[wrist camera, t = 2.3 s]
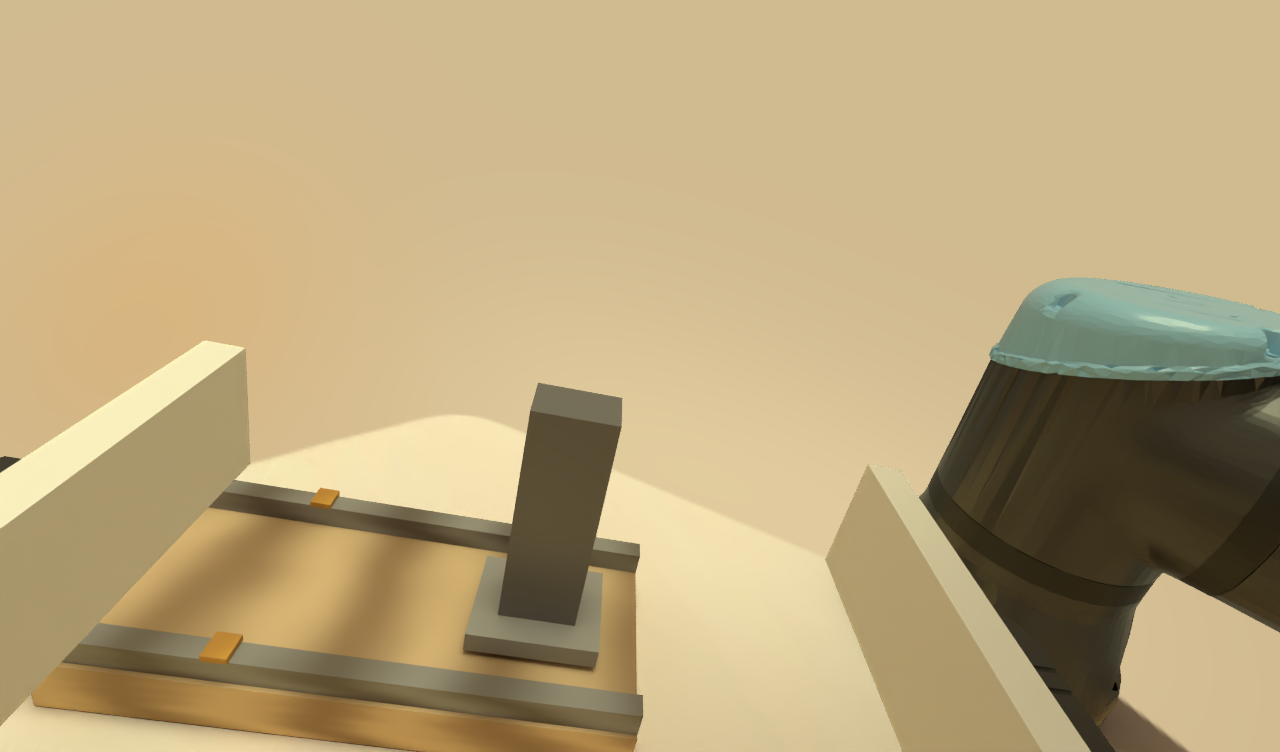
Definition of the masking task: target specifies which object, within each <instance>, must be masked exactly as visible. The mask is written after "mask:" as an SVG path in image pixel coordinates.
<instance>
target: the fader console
mask: <svg viewBox="0 0 1280 752" xmlns="http://www.w3.org/2000/svg"><path fill="white" fill-rule="evenodd" d="M511 528H512V524H508V523H502V522H496V521H489V520H483V519H477V518H470V517H464V516H458V515H451V514H445V513H439V512H433V511H426V510H420V509H414V508H407V507H401V506H395V505H388V504H382V503H376V502H369V501H363V500H357V499H350V498H344V497H339V491H336V490H330V489H324V488H320V489H319V490H318V492H317V493H313V492H306V491H300V490H294V489H287V488H281V487H275V486H268V485H262V484H256V483H249V482H243V481H237V480H234V481H233V482H232V483H231V484H230V485H229V486H228V487H227V488H226V489H225V490H224V491H223V492H222V493H221V494H220V496H219V497H218V498H217V499H216V500H215V501H214V502H213V503H212V504H211V505H210V506H209V507H208V508H207V509H206V510H205V511H204V512H203V513H202V514H201V516H200V517H199V518H198V519H197V520H196V521H195V522H194V523H193V524H192V525H191V526H190V527H189V528H188V529H187V530H186V531H185V532H184V533H183V534H182V536H181V537H180V538H179V539H178V540H177V541H176V542H175V543H174V544H173V545H172V546H171V547H170V548H169V549H168V550H167V551H166V552H165V553H164V554H163V556H162V557H161V558H160V559H159V560H158V561H157V562H156V563H155V564H154V565H153V566H152V567H151V568H150V569H149V570H148V571H147V572H146V573H145V574H144V576H143V577H142V578H141V579H140V580H139V581H138V582H137V583H136V584H135V585H134V586H133V587H132V588H131V589H130V590H129V591H128V592H127V593H126V594H125V595H124V597H123V598H122V599H121V600H120V601H119V602H118V603H117V604H116V605H115V606H114V607H113V608H112V609H111V610H110V611H109V612H108V613H107V614H106V615H105V617H104V618H103V619H102V620H101V621H100V622H99V623H98V624H97V625H96V626H95V627H94V628H93V629H92V630H91V631H90V632H89V633H88V634H87V635H86V637H85V638H84V639H83V640H82V641H81V642H80V643H79V644H78V645H77V646H76V647H75V648H74V649H73V650H72V651H71V652H70V653H69V654H68V655H67V657H66V658H65V659H64V660H63V661H62V662H61V663H60V664H59V665H58V666H57V667H56V668H55V669H54V670H53V671H52V672H51V673H50V674H49V675H48V676H47V678H46V679H45V680H44V681H43V682H42V683H41V684H40V685H39V686H38V687H37V688H36V689H35V690H34V691H33V692H32V693H31V696H32V699H33V703H34V705H35V706H43V707H51V708H60V709H68V710H77V711H85V712H93V713H102V714H110V715H118V716H127V717H135V718H144V719H152V720H160V721H169V722H177V723H185V724H194V725H202V726H211V727H219V728H227V729H236V730H244V731H253V732H261V733H269V734H278V735H286V736H294V737H303V738H311V739H320V740H328V741H336V742H345V743H353V744H361V745H370V746H378V747H387V748H395V749H403V750H412V751H420V752H633V750H634V747H635V744H636V741H637V734H638V730H639V727H640V724H641V721H642V718H643V695H637V688H636V596H635V572H636V568H637V565H638V561H639V558H640V544H635V543H628V542H622V541H616V540H609V539H603V538H597V537H596V538H595V542H594V546H593V551H592V555H591V559H590V563H589V568H588V571H592V572H598V573H603V584H602V603H601V623H600V642H599V654H598V658H597V662H596V666H595V668H593V667H585V666H578V665H571V664H563V663H556V662H549V661H541V660H534V659H527V658H519V657H512V656H505V655H497V654H490V653H483V652H476V651H468V650H463V645H464V637H465V632H466V629H467V625H468V622H469V618H470V615H471V611H472V608H473V604H474V601H475V597H476V594H477V590H478V587H479V583H480V580H481V576H482V573H483V569H484V566H485V562H486V559H487V556H494V557H500V558H507V553H508V547H509V541H510V535H511Z"/></svg>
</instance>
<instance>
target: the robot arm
mask: <svg viewBox="0 0 1280 752" xmlns="http://www.w3.org/2000/svg"><path fill="white" fill-rule="evenodd" d="M989 356H990V358H991V360H990V362H989V364H988V366H987V369H986V370H985V372H984V374H983V377H982V379H981V381H980V383H979V385H978V387H977V389H976V391H975V393H974V395H973V397H972V399H971V401H970V403H969V405H968V407H967V409H966V411H965V413H964V415H963V417H962V419H961V421H960V423H959V425H958V427H957V429H956V431H955V433H954V435H953V438H952V439H951V441H950V443H949V445H948V447H947V449H946V451H945V453H944V455H943V457H942V459H941V461H940V463H939V465H938V467H937V469H936V471H935V473H934V475H933V477H932V479H931V481H930V483H929V485H928V487H927V489H926V490H925V492H924V493H923V494H922V495H921V496H920V497H918V495H917V494H916V493H915V491H914V490H913V488H912V487H911V485H910V484H909V482H908V481H907V479H906V478H905V476H904V475H903V474H902V472H901V470H897V469H892V468H885V467H881V466H875V465H869V464H868V465H867V467H866V470H865V472H864V474H863V477H862V479H861V481H860V483H859V485H858V488H857V490H856V492H855V494H854V497H853V499H852V501H851V503H850V506H849V508H848V510H847V512H846V515H845V517H844V519H843V521H842V524H841V526H840V528H839V530H838V532H837V535H836V537H835V539H834V541H833V544H832V546H831V548H830V550H829V553H828V555H827V557H826V559H825V560H826V562H827V565H828V567H829V570H830V572H831V575H832V577H833V580H834V582H835V585H836V587H837V590H838V592H839V595H840V597H841V600H842V602H843V605H844V607H845V610H846V612H847V615H848V617H849V619H850V622H851V624H852V627H853V629H854V632H855V634H856V637H857V639H858V642H859V644H860V647H861V649H862V652H863V654H864V657H865V659H866V662H867V664H868V667H869V669H870V672H871V674H872V677H873V679H874V682H875V684H876V687H877V689H878V692H879V694H880V697H881V699H882V702H883V704H884V706H885V709H886V711H887V714H888V716H889V719H890V721H891V724H892V726H893V729H894V731H895V734H896V736H897V739H898V741H899V744H900V746H901V749H902V751H903V752H1115V750H1114V749H1113V748H1112V746H1111V745H1110V743H1109V742H1108V740H1107V739H1106V738H1105V736H1104V735H1103V733H1102V732H1101V731H1100V729H1099V728H1098V727H1099V725H1100V724H1101V723H1102V722H1103V720H1104V719H1105V718H1106V717H1107V715H1108V714H1109V713H1110V711H1111V710H1112V709H1113V707H1114V705H1115V703H1116V701H1117V699H1118V695H1119V689H1120V684H1121V673H1120V665H1121V662H1122V658H1123V655H1124V651H1125V648H1126V645H1127V642H1128V638H1129V635H1130V631H1131V626H1132V622H1133V618H1134V613H1135V610H1136V607H1137V606H1138V604H1139V603H1140V601H1141V600H1142V598H1143V597H1144V595H1145V594H1146V593H1147V591H1148V590H1149V589H1150V587H1151V586H1152V585H1153V583H1154V582H1155V581H1156V579H1157V578H1158V577H1159V576H1160V575H1161V574H1162V573H1166V574H1168V575H1170V576H1172V577H1174V578H1176V579H1179V580H1180V581H1182V582H1184V583H1186V584H1188V585H1190V586H1192V587H1194V588H1196V589H1198V590H1200V591H1202V592H1204V593H1205V594H1207V595H1209V596H1212V597H1214V598H1216V599H1218V600H1220V601H1221V602H1223V603H1226V604H1227V605H1229V606H1231V607H1233V608H1235V609H1237V610H1238V611H1240V612H1242V613H1244V614H1246V615H1248V616H1250V617H1252V618H1254V619H1255V620H1257V621H1259V622H1261V623H1263V624H1265V625H1267V626H1269V627H1271V628H1272V629H1274V630H1276V631H1278V632H1280V314H1278V313H1275V312H1272V311H1266V310H1262V309H1257V308H1255V307H1253V306H1251V305H1246V304H1242V303H1238V302H1233V301H1229V300H1225V299H1220V298H1216V297H1211V296H1206V295H1201V294H1196V293H1191V292H1186V291H1180V290H1174V289H1170V288H1163V287H1157V286H1152V285H1145V284H1139V283H1132V282H1124V281H1116V280H1107V279H1096V278H1063V279H1057V280H1053V281H1050V282H1047V283H1045V284H1043V285H1040V286H1039V287H1037V288H1036V289H1034V290H1033V291H1032V292H1031V293H1029V294H1028V296H1027V297H1026V298H1025V300H1024V301H1023V302H1022V304H1021V306H1020V307H1019V309H1018V311H1017V312H1016V314H1015V316H1014V318H1013V319H1012V321H1011V323H1010V324H1009V326H1008V328H1007V330H1006V331H1005V333H1004V335H1003V337H1002V338H1001V340H1000V342H999V343H997V344H996V345H994V346H993V348H992V349H991V352H990V354H989ZM249 464H250V444H249V420H248V396H247V372H246V349H245V348H242V347H237V346H232V345H227V344H221V343H216V342H211V341H203V342H202V343H200V344H198V345H197V346H195V347H194V348H192V349H191V350H189V351H188V352H186V353H185V354H183V355H181V356H180V357H179V358H177V359H175V360H174V361H172V362H171V363H169V364H168V365H166V366H165V367H163V368H161V369H160V370H158V371H157V372H155V373H154V374H152V375H151V376H149V377H148V378H146V379H144V380H143V381H141V382H140V383H139V384H137V385H135V386H134V387H132V388H131V389H129V390H127V391H126V392H124V393H123V394H122V395H120V396H118V397H117V398H115V399H114V400H112V401H110V402H109V403H108V404H106V405H105V406H103V407H101V408H100V409H98V410H97V411H95V412H94V413H92V414H90V415H89V416H87V417H86V418H84V419H83V420H81V421H80V422H78V423H77V424H75V425H73V426H72V427H70V428H69V429H67V430H66V431H64V432H63V433H61V434H60V435H58V436H56V437H55V438H53V439H52V440H51V441H49V442H47V443H46V444H44V445H43V446H41V447H40V448H38V449H36V450H35V451H33V452H32V453H30V454H29V455H27V456H26V457H24V458H23V459H19V458H12V457H6V456H4V457H1V458H0V726H1V725H2V724H3V723H4V722H5V721H6V720H7V719H8V718H9V716H10V715H11V714H12V713H13V712H14V711H15V710H16V709H17V708H18V707H19V706H20V705H21V704H22V703H23V702H24V701H25V700H26V699H27V698H28V696H29V695H30V694H31V693H32V692H33V691H34V690H35V689H36V688H37V687H38V686H39V685H40V684H41V683H42V682H43V681H44V680H45V679H46V678H47V676H48V675H49V674H50V673H51V672H52V671H53V670H54V669H55V668H56V667H57V666H58V665H59V664H60V663H61V662H62V661H63V660H64V659H65V658H66V657H67V655H68V654H69V653H70V652H71V651H72V650H73V649H74V648H75V647H76V646H77V645H78V644H79V643H80V642H81V641H82V640H83V639H84V638H85V637H86V635H87V634H88V633H89V632H90V631H91V630H92V629H93V628H94V627H95V626H96V625H97V624H98V623H99V622H100V621H101V620H102V619H103V618H104V617H105V615H106V614H107V613H108V612H109V611H110V610H111V609H112V608H113V607H114V606H115V605H116V604H117V603H118V602H119V601H120V600H121V599H122V598H123V597H124V595H125V594H126V593H127V592H128V591H129V590H130V589H131V588H132V587H133V586H134V585H135V584H136V583H137V582H138V581H139V580H140V579H141V578H142V577H143V576H144V574H145V573H146V572H147V571H148V570H149V569H150V568H151V567H152V566H153V565H154V564H155V563H156V562H157V561H158V560H159V559H160V558H161V557H162V556H163V554H164V553H165V552H166V551H167V550H168V549H169V548H170V547H171V546H172V545H173V544H174V543H175V542H176V541H177V540H178V539H179V538H180V537H181V536H182V534H183V533H184V532H185V531H186V530H187V529H188V528H189V527H190V526H191V525H192V524H193V523H194V522H195V521H196V520H197V519H198V518H199V517H200V516H201V514H202V513H203V512H204V511H205V510H206V509H207V508H208V507H209V506H210V505H211V504H212V503H213V502H214V501H215V500H216V499H217V498H218V497H219V496H220V494H221V493H222V492H223V491H224V490H225V489H226V488H227V487H228V486H229V485H230V484H231V483H232V482H233V481H234V480H235V479H236V478H237V477H238V476H239V475H240V473H241V472H242V471H243V470H244V469H245V468H246V467H247V466H248V465H249Z"/></svg>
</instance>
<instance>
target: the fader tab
mask: <svg viewBox="0 0 1280 752" xmlns="http://www.w3.org/2000/svg"><path fill="white" fill-rule="evenodd" d="M621 422H622V398H618V397H613V396H607V395H602V394H597V393H591V392H585V391H580V390H575V389H569V388H564V387H558V386H553V385H547V384H542V383H538V386H537V389H536V393H535V396H534V400H533V403H532V407H531V410H530V416H529V423H528V429H527V435H526V441H525V447H524V454H523V460H522V466H521V472H520V478H519V485H518V491H517V497H516V503H515V510H514V516H513V522H512V528H511V535H510V541H509V547H508V553H507V558H500V557H494V556H487V559H486V562H485V566H484V569H483V573H482V576H481V580H480V583H479V587H478V590H477V594H476V597H475V601H474V604H473V608H472V611H471V615H470V618H469V622H468V625H467V629H466V632H465V637H464V645H463V650H468V651H476V652H483V653H490V654H497V655H505V656H512V657H519V658H527V659H534V660H541V661H549V662H556V663H563V664H571V665H578V666H585V667H593V668H595V666H596V662H597V658H598V654H599V642H600V623H601V603H602V584H603V573H598V572H592V571H588V568H589V563H590V559H591V555H592V551H593V546H594V542H595V538H596V533H597V529H598V525H599V521H600V516H601V512H602V508H603V504H604V499H605V495H606V491H607V486H608V482H609V478H610V474H611V469H612V465H613V461H614V456H615V452H616V448H617V444H618V439H619V435H620V431H621Z"/></svg>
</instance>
